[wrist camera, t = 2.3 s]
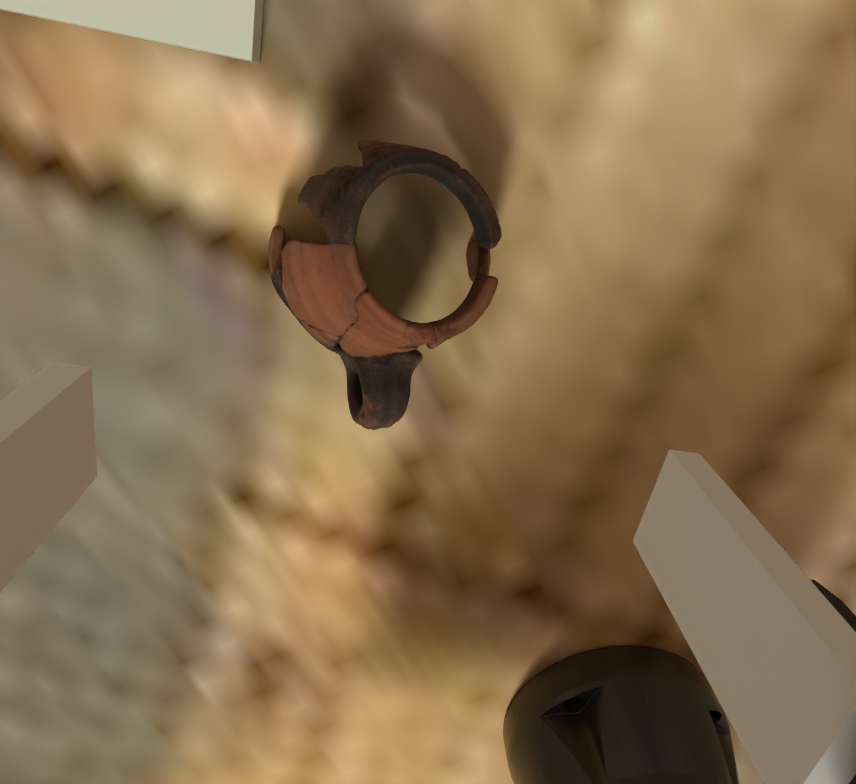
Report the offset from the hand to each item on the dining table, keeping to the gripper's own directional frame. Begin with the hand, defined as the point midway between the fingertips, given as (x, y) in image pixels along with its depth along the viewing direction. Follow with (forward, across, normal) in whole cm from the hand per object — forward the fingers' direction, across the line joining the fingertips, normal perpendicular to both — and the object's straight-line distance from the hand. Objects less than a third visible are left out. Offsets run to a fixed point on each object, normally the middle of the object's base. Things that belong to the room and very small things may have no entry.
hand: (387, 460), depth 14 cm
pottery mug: (+17, +1, 0) cm, 17 cm away
